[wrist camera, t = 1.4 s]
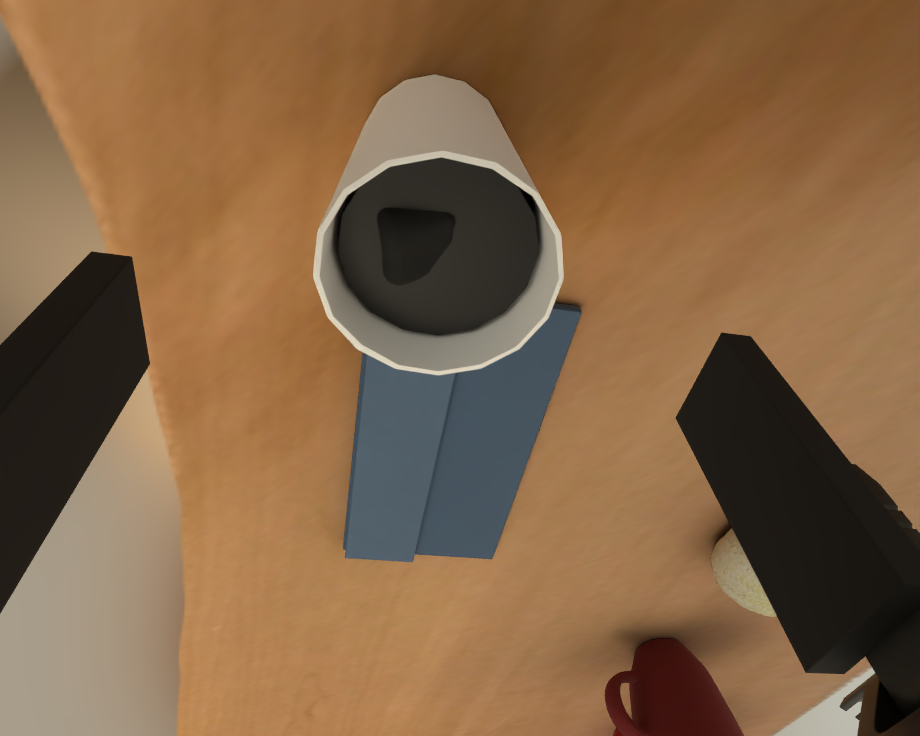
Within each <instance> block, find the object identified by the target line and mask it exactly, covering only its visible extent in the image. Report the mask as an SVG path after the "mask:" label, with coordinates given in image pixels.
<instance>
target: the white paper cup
mask: <svg viewBox="0 0 920 736" xmlns="http://www.w3.org/2000/svg"><path fill="white" fill-rule="evenodd" d="M313 278H314V281H315V283H316V286H317V289H318V292H319V295H320V297H321V300H322V303H323V306H324V309H325V311H326V314H327V317H328V318H329V319H330V321H331V322H332V323H333V324H334V325H335V326H336V327H337V328H338V329H339V330H340V331H341V332H342V334H343V335H344V336H345V337H346V338H347V339H348V340H349V341H350V342H351V343H352V344H353V345H354V347H355V348H356V349H358V350H360V351H361V352H363V353H365V354H367V355H369V356H371V357H373V358H375V359H377V360H379V361H381V362H383V363H385V364H387V365H389V366H391V367H393V368H395V369H400V370H406V371H413V372H419V373H426V374H432V375H444V374H451V373H457V372H463V371H470V370H476V369H481V368H483V367H485V366H487V365H489V364H491V363H493V362H495V361H497V360H499V359H501V358H503V357H505V356H507V355H509V354H511V353H513V352H515V351H517V350H519V349H520V348H521V347H522V346H523V345H524V344H525V343H526V342H527V340H528V339H529V338H530V337H531V336H532V335H533V334H534V333H535V332H536V331H537V330H538V329H539V328H540V327H541V326H542V325H543V324H544V322H545V321H546V320H547V319H548V318H549V315H550V313H551V310H552V308H553V305H554V303H555V300H556V297H557V295H558V292H559V290H560V287H561V285H562V282H563V279H564V274H563V256H562V239H561V233H560V231H559V230H558V228H557V226H556V224H555V222H554V220H553V218H552V217H551V215H550V213H549V211H548V209H547V207H546V206H545V204H544V202H543V200H542V198H541V196H540V194H539V193H538V191H537V189H536V187H535V185H534V183H533V181H532V180H531V178H530V176H529V174H528V172H527V170H526V169H525V167H524V165H523V163H522V161H521V159H520V157H519V156H518V154H517V152H516V150H515V148H514V146H513V144H512V143H511V141H510V139H509V137H508V135H507V133H506V132H505V130H504V128H503V126H502V124H501V122H500V120H499V118H498V117H497V115H496V113H495V111H494V109H493V107H492V106H491V104H490V102H489V100H488V99H486V98H485V97H484V96H482V95H481V94H480V93H479V92H477V91H476V90H475V89H473V88H472V87H471V86H470V85H468V84H467V83H466V82H464V81H460V80H456V79H452V78H448V77H444V76H440V75H436V74H434V75H429V76H423V77H418V78H413V79H407V80H404V81H403V82H401V83H400V84H399V85H397V86H396V87H394V88H393V89H391V90H390V91H389V92H387V93H386V94H384V95H383V96H382V97H380V99H379V100H378V102H377V104H376V105H375V107H374V109H373V110H372V112H371V114H370V116H369V117H368V119H367V121H366V122H365V125H364V127H363V129H362V132H361V134H360V136H359V138H358V141H357V143H356V145H355V147H354V150H353V152H352V154H351V156H350V159H349V161H348V163H347V166H346V168H345V170H344V172H343V175H342V177H341V179H340V181H339V184H338V186H337V188H336V191H335V193H334V195H333V197H332V200H331V202H330V204H329V206H328V209H327V211H326V213H325V215H324V218H323V220H322V222H321V225H320V227H319V229H318V231H317V241H316V251H315V262H314V272H313Z"/></svg>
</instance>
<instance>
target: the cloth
mask: <svg viewBox="0 0 920 736" xmlns="http://www.w3.org/2000/svg"><path fill="white" fill-rule="evenodd" d="M580 315H581V310H580V307H579V306H575V305H567V304H560V303H554V305H553V308H552V310H551V313H550V315H549V318H548V319H547V320H546V321H545V322H544V324H543V325H542V326H541V327H540V328H539V329H538V330H537V331H536V332H535V333H534V334H533V335H532V336H531V337H530V338H529V339H528V340H527V342H526V343H525V344H524V345H523V346H522V347H521V348H520V349H519V350H517V351H515V352H513V353H511V354H509V355H507V356H505V357H503V358H501V359H499V360H497V361H495V362H493V363H491V364H489V365H487V366H485V367H483V368H481V369H476V370H470V371H463V372H457V373H451V374H444V375H432V374H426V373H419V372H413V371H406V370H400V369H395V368H393V367H391V366H389V365H387V364H385V363H383V362H381V361H379V360H377V359H375V358H373V357H371V356H369V355H367V354H365V353H363V356H362V366H361V376H360V386H359V396H358V405H357V415H356V425H355V435H354V445H353V455H352V465H351V475H350V485H349V495H348V504H347V514H346V524H345V534H344V544H343V550H346V554H345V558H353V559H369V560H386V561H402V562H413V560H414V555H415V554H418V555H434V556H450V557H466V558H482V559H492V558H493V556H494V553H495V550H496V547H497V545H498V542H499V539H500V536H501V533H502V531H503V528H504V525H505V522H506V520H507V517H508V514H509V511H510V509H511V506H512V503H513V500H514V498H515V495H516V492H517V489H518V487H519V484H520V481H521V478H522V476H523V473H524V470H525V467H526V464H527V462H528V459H529V456H530V453H531V451H532V448H533V445H534V442H535V440H536V437H537V434H538V431H539V429H540V426H541V423H542V420H543V418H544V415H545V412H546V409H547V407H548V404H549V401H550V398H551V395H552V393H553V390H554V387H555V384H556V382H557V379H558V376H559V373H560V371H561V368H562V365H563V362H564V360H565V357H566V354H567V351H568V349H569V346H570V343H571V340H572V337H573V335H574V332H575V329H576V326H577V324H578V321H579V318H580Z"/></svg>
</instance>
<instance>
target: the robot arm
mask: <svg viewBox="0 0 920 736" xmlns="http://www.w3.org/2000/svg"><path fill="white" fill-rule="evenodd" d="M149 364H150V361H149V355H148V349H147V343H146V337H145V331H144V326H143V320H142V314H141V308H140V302H139V296H138V290H137V284H136V278H135V272H134V266H133V260H132V257H130V256H122V255H114V254H107V253H98V252H91V253H90V254H89V255H88V256H87V257H86V258H85V259H84V260H83V261H82V262H81V263H80V264H79V265H78V266H77V267H76V268H75V269H74V270H73V271H72V272H71V273H70V274H69V275H68V276H67V277H66V278H65V279H64V280H63V281H62V282H61V283H60V284H59V285H58V287H56V289H54V290H53V292H51V294H50V295H49V296H48V297H47V298H46V299H45V300H44V301H43V302H42V303H41V304H40V305H39V306H38V307H37V308H36V309H35V310H34V311H33V312H32V313H31V314H30V315H29V316H28V317H27V318H26V319H25V320H24V321H23V322H22V323H21V325H19V326H18V327H17V328H16V330H15V331H14V332H13V333H12V334H11V335H10V336H9V337H8V338H7V339H6V340H5V341H4V342H3V343H2V344H1V345H0V613H1V611H2V610H3V608H4V606H5V605H6V603H7V601H8V600H9V598H10V596H11V595H12V593H13V591H14V590H15V588H16V586H17V585H18V583H19V581H20V580H21V578H22V576H23V574H24V573H25V571H26V570H27V568H28V566H29V565H30V563H31V561H32V560H33V558H34V556H35V555H36V553H37V551H38V550H39V548H40V546H41V544H42V543H43V541H44V540H45V538H46V536H47V535H48V533H49V531H50V529H51V528H52V526H53V525H54V523H55V521H56V519H57V518H58V516H59V515H60V513H61V511H62V509H63V508H64V506H65V505H66V503H67V501H68V500H69V498H70V496H71V494H72V493H73V491H74V490H75V488H76V486H77V484H78V483H79V481H80V480H81V478H82V476H83V474H84V473H85V471H86V470H87V468H88V466H89V465H90V463H91V461H92V460H93V458H94V456H95V454H96V453H97V451H98V449H99V448H100V446H101V445H102V443H103V441H104V439H105V438H106V436H107V435H108V433H109V431H110V429H111V428H112V426H113V425H114V423H115V421H116V419H117V418H118V416H119V414H120V413H121V411H122V409H123V408H124V406H125V405H126V403H127V401H128V400H129V398H130V396H131V395H132V393H133V391H134V389H135V388H136V386H137V385H138V383H139V381H140V379H141V378H142V376H143V374H144V373H145V371H146V369H147V368H148V366H149ZM676 420H677V422H678V424H679V426H680V428H681V430H682V432H683V433H684V435H685V437H686V439H687V441H688V443H689V445H690V447H691V449H692V451H693V453H694V455H695V457H696V459H697V461H698V463H699V465H700V467H701V469H702V471H703V473H704V475H705V477H706V478H707V480H708V482H709V484H710V486H711V488H712V490H713V492H714V494H715V496H716V498H717V500H718V502H719V504H720V506H721V508H722V510H723V512H724V514H725V516H726V518H727V520H728V521H729V523H730V525H731V527H732V529H733V531H734V533H735V535H736V537H737V539H738V541H739V543H740V545H741V547H742V549H743V551H744V553H745V555H746V557H747V559H748V561H749V563H750V564H751V566H752V568H753V570H754V572H755V574H756V576H757V578H758V580H759V582H760V584H761V586H762V588H763V590H764V592H765V594H766V596H767V598H768V600H769V602H770V604H771V606H772V608H773V609H774V611H775V613H776V615H777V617H778V619H779V621H780V623H781V625H782V627H783V629H784V631H785V633H786V635H787V637H788V639H789V641H790V643H791V645H792V647H793V649H794V651H795V652H796V654H797V656H798V658H799V660H800V662H801V664H802V666H803V668H804V670H805V672H806V673H828V674H845V673H846V672H847V671H848V670H850V669H851V668H852V667H853V666H854V665H856V664H857V663H858V662H859V661H860V660H861V659H863V658H864V657H865V656H866V658H867V660H868V661H869V663H870V665H871V666H872V668H873V670H874V671H875V674H874V675H873V676H871V677H870V678H869V679H867V680H866V681H865V682H864V683H862V684H861V685H860V686H859V687H857V688H856V689H855V690H854V691H852V692H851V693H850V694H849V695H847V696H846V697H845V698H844V699H843V701H842V703H841V705H840V708H842V709H843V710H845V711H847V710H848V709H849V708H851V707H852V706H853V705H855V704H856V703H857V702H860V701H861V702H862V707H861V713H859V714H858V715H857V716H856V718H857V719H858V720H860V721H859V728H858V736H920V533H919V532H918V531H917V529H913V528H912V523H911V522H910V521H909V520H908V518H907V517H906V516H905V515H904V513H903V512H902V511H898V509H897V508H898V506H897V505H896V504H895V502H894V501H893V500H892V499H891V497H890V496H889V495H888V494H887V492H886V491H885V490H884V489H883V488H882V486H881V485H880V484H879V483H878V482H876V481H875V480H874V479H873V478H871V477H870V476H869V475H868V474H867V473H865V472H864V471H863V470H862V469H861V468H859V467H858V466H857V465H856V464H851V463H850V462H849V460H848V459H847V458H846V457H845V455H844V454H843V453H842V451H841V450H840V449H839V448H838V446H837V445H836V444H835V443H834V441H833V440H832V439H831V438H830V436H829V435H828V434H827V432H826V431H825V430H824V429H823V427H822V426H821V425H820V424H819V422H818V421H817V420H816V419H815V417H814V416H813V415H812V413H811V412H810V411H809V410H808V408H807V407H806V406H805V405H804V403H803V402H802V401H801V400H800V398H799V397H798V396H797V394H796V393H795V392H794V391H793V389H792V388H791V387H790V386H789V384H788V383H787V382H786V381H785V379H784V378H783V377H782V375H781V374H780V373H779V372H778V370H777V369H776V368H775V367H774V365H773V364H772V363H771V361H770V360H769V359H768V358H767V356H766V355H765V354H764V353H763V351H762V350H761V349H760V348H759V346H758V345H757V344H756V342H755V341H754V340H753V339H752V337H751V336H744V335H736V334H728V333H721V334H720V336H719V338H718V340H717V342H716V344H715V346H714V347H713V349H712V351H711V353H710V355H709V357H708V359H707V361H706V362H705V364H704V366H703V368H702V370H701V372H700V374H699V375H698V377H697V379H696V381H695V383H694V385H693V387H692V388H691V390H690V392H689V394H688V396H687V398H686V400H685V401H684V403H683V405H682V407H681V409H680V411H679V413H678V414H677V416H676Z"/></svg>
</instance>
